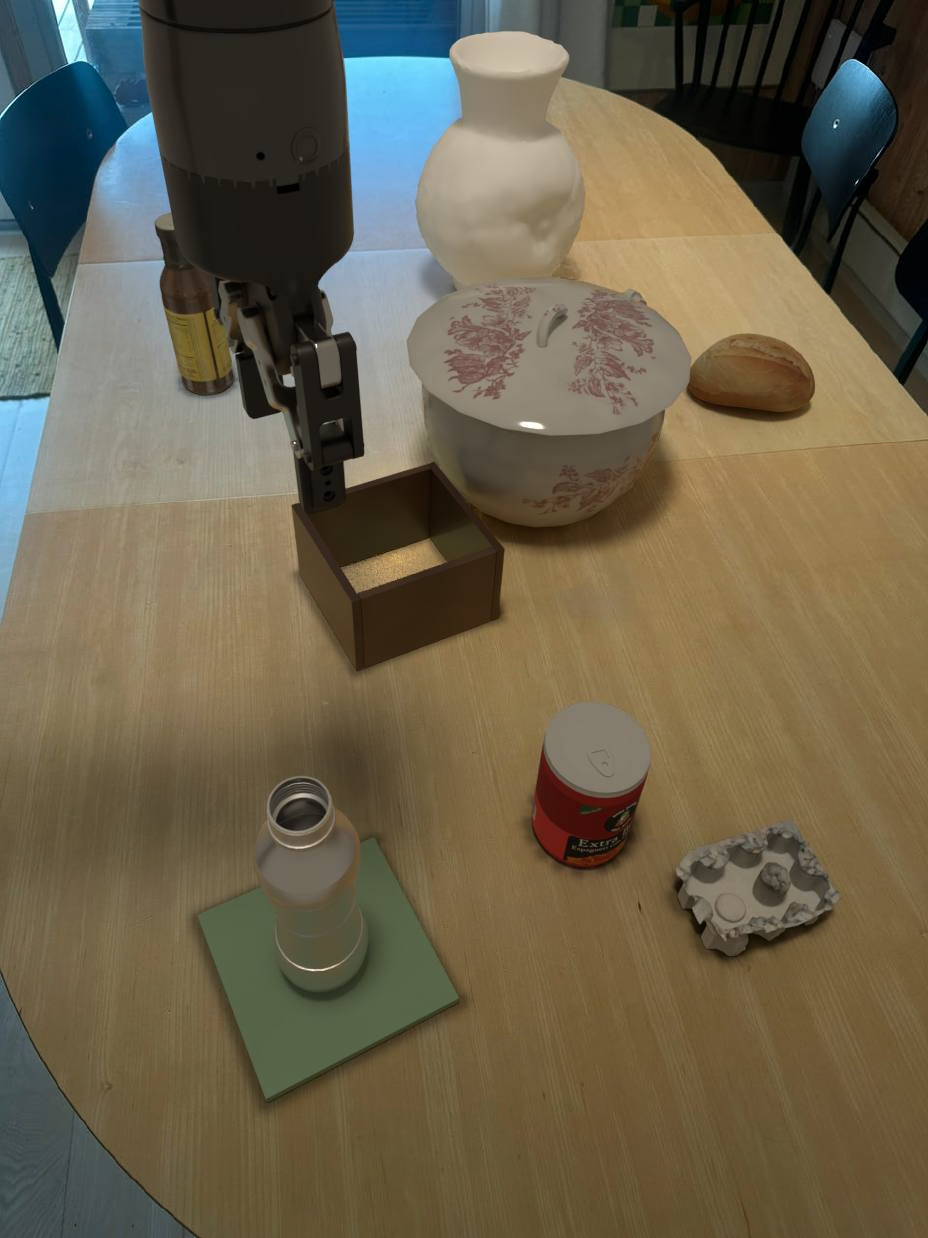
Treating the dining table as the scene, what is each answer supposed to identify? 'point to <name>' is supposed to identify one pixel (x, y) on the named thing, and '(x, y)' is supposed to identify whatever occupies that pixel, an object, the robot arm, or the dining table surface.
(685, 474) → the dining table surface
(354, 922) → the plastic bottle
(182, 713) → the dining table surface
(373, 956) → the mat
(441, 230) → the vase
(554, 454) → the chamber pot
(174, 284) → the sauce bottle
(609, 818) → the canned food
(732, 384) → the bread roll
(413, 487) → the crate
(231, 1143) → the dining table surface
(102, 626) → the dining table surface
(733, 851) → the egg carton
